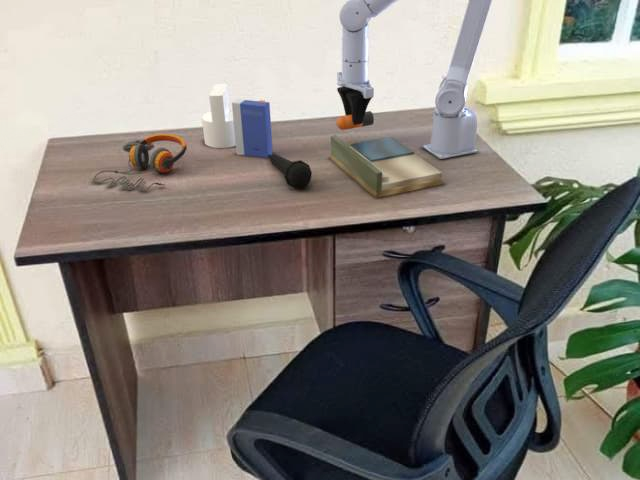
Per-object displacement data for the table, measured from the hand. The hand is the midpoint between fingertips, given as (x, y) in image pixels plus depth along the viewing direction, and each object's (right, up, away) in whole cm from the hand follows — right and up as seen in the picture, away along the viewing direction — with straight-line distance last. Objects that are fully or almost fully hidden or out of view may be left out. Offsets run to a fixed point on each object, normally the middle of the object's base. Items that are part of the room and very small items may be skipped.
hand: (354, 121), depth 150 cm
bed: (+6, -14, -10) cm, 18 cm away
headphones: (-45, -14, -8) cm, 47 cm away
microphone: (-14, -15, -10) cm, 23 cm away
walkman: (-23, -8, -1) cm, 24 cm away
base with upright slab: (-31, -3, +6) cm, 31 cm away
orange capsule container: (0, -1, +1) cm, 1 cm away
